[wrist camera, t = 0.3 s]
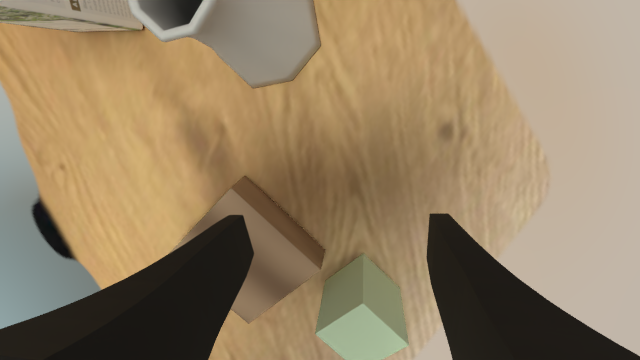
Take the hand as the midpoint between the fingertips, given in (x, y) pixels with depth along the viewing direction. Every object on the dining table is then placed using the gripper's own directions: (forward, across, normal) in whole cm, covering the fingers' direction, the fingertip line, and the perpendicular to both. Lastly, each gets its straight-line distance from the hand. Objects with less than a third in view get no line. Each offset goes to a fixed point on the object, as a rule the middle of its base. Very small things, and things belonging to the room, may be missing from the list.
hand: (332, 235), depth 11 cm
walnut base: (+10, +9, +9) cm, 16 cm away
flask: (+12, +5, -8) cm, 15 cm away
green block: (+9, 0, +12) cm, 15 cm away
